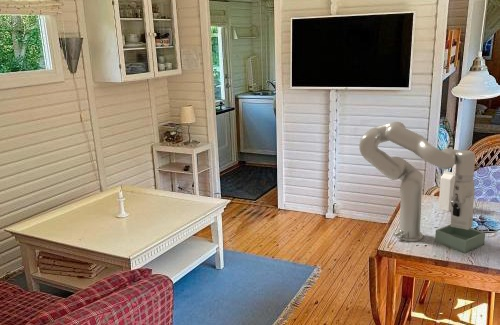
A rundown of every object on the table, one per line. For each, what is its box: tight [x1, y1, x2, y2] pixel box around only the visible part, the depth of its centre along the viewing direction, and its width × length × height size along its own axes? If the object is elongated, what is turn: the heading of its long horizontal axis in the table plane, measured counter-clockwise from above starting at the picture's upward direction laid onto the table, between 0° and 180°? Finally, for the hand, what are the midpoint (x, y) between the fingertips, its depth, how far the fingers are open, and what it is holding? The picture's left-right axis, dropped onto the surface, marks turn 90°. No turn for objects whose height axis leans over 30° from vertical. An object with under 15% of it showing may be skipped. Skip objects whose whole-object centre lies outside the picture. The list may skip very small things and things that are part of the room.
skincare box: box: [450, 195, 475, 230], centre depth 207 cm, size 8×7×16 cm
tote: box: [434, 223, 486, 254], centre depth 211 cm, size 15×16×6 cm
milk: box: [438, 170, 455, 212], centre depth 250 cm, size 6×6×22 cm
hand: (461, 213), depth 207 cm, fingers closed on skincare box, 7 cm apart
